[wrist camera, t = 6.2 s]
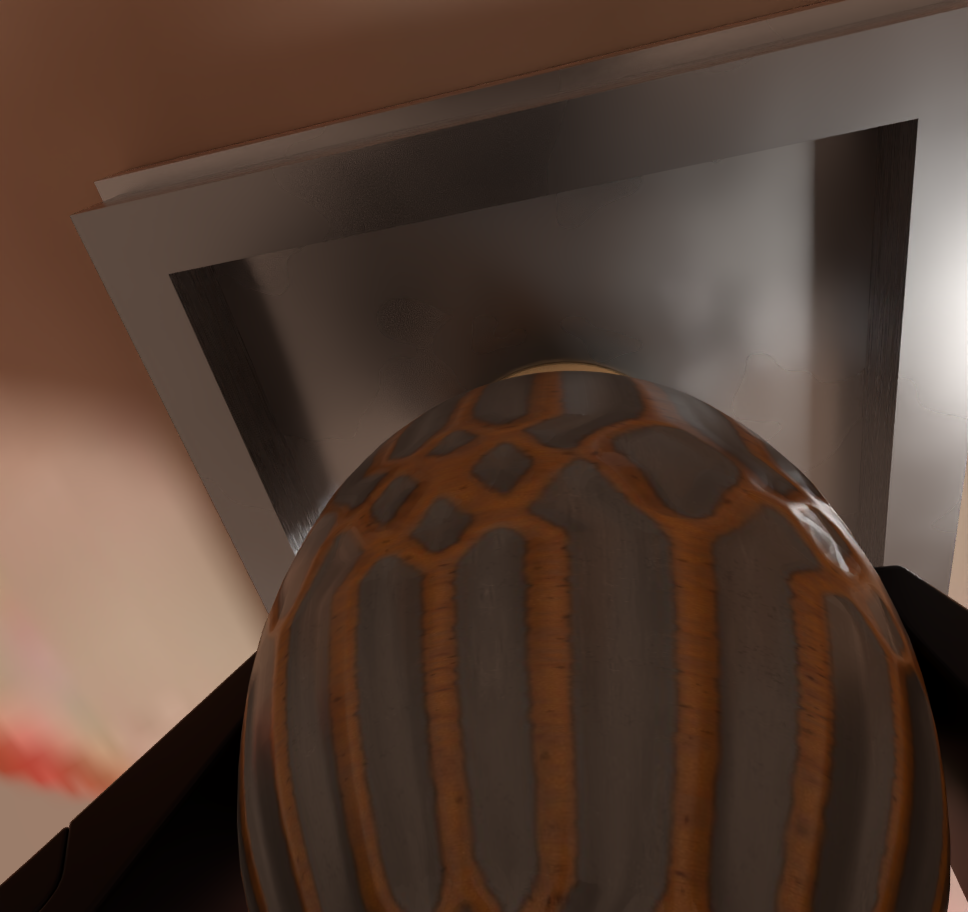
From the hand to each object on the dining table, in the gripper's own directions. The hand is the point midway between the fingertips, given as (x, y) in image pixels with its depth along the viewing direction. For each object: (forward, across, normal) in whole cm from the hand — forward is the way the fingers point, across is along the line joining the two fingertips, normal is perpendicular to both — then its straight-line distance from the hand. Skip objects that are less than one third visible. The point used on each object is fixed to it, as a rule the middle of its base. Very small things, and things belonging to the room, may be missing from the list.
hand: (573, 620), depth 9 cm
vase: (+2, 0, 0) cm, 3 cm away
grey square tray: (+4, 0, 0) cm, 5 cm away
